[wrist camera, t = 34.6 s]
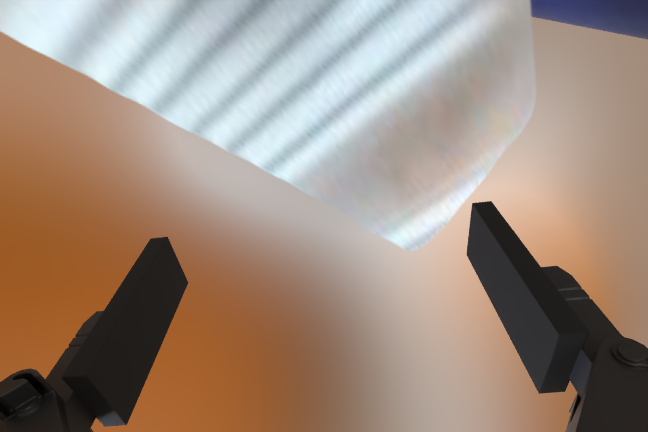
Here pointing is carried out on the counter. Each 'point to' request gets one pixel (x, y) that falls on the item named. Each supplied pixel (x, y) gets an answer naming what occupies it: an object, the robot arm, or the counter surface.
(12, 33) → the counter surface
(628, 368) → the robot arm
